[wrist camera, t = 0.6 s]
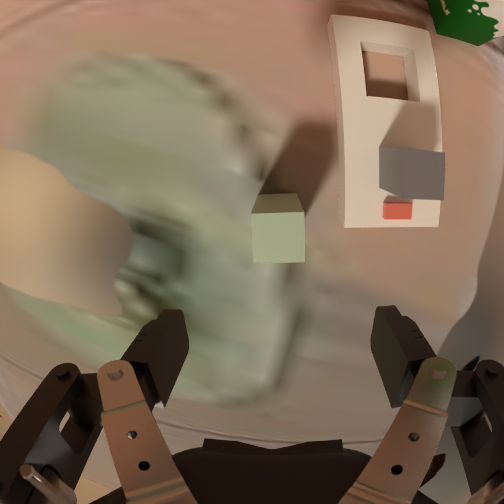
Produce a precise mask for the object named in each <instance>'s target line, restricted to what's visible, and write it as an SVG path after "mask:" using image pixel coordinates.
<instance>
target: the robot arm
mask: <svg viewBox="0 0 504 504" xmlns="http://www.w3.org/2000/svg"><path fill="white" fill-rule="evenodd" d="M188 351H189V339H188V334H187V329H186V325H185V320H184V315H183V312H182V310H175V309H164V310H163V311H162V312H161V313H160V315H159V316H158V318H157V319H156V320H152V321H150V322H149V323H147V324H146V325H144V326H143V328H142V329H141V331H140V332H139V333H138V335H137V336H136V338H135V339H134V341H133V342H132V343H131V345H130V346H129V348H128V349H127V350H126V352H125V353H124V355H123V356H122V358H121V359H120V360H114V361H110V362H108V363H106V364H104V365H103V366H102V367H101V368H100V369H99V370H98V372H97V373H90V374H81V373H80V371H79V369H78V367H77V366H76V365H75V364H73V363H63V364H60V365H58V366H56V367H54V368H53V369H52V370H51V371H50V372H49V374H48V375H47V376H46V378H45V379H44V380H43V382H42V383H41V384H40V385H39V387H38V388H37V389H36V391H35V392H34V393H33V395H32V396H31V398H30V399H29V400H28V402H27V403H26V404H25V406H24V407H23V409H22V410H21V411H20V413H19V414H18V416H17V417H16V419H15V420H14V421H13V423H12V425H11V426H10V427H9V429H8V430H7V432H6V433H5V435H4V436H3V438H2V440H1V441H0V504H77V498H76V495H75V493H74V490H75V487H76V485H77V483H78V480H79V478H80V476H81V474H82V471H83V469H84V467H85V465H86V462H87V460H88V458H89V456H90V454H91V451H92V449H93V447H94V445H95V443H96V441H97V439H98V436H99V434H100V432H101V430H102V428H103V426H104V430H105V434H106V438H107V441H108V445H109V448H110V452H111V455H112V459H113V462H114V465H115V468H116V471H117V474H118V477H119V480H120V482H121V485H122V486H121V487H120V488H118V489H116V490H114V491H112V492H111V493H109V494H107V495H105V496H103V497H101V498H99V499H97V500H95V501H93V502H91V503H89V504H438V503H436V502H435V501H433V500H432V499H430V498H429V497H427V496H426V495H424V494H423V493H421V492H420V491H419V490H418V488H419V486H420V484H421V482H422V480H423V478H424V476H425V474H426V472H427V470H428V467H429V465H430V463H431V460H432V458H433V456H434V453H435V451H436V448H437V446H438V443H439V440H440V438H441V435H442V432H443V429H444V427H445V426H450V427H451V430H452V433H453V436H454V438H455V441H456V444H457V447H458V450H459V453H460V457H461V460H462V463H463V466H464V470H465V473H466V477H467V480H468V484H469V488H470V492H471V497H470V499H469V501H468V503H467V504H504V367H503V366H502V365H501V364H500V363H498V362H496V361H494V360H482V361H480V362H479V363H478V364H477V366H476V369H475V371H458V370H457V369H456V367H455V366H454V364H453V363H451V362H450V361H449V360H447V359H444V358H441V357H437V356H436V354H435V353H434V351H433V349H432V348H431V346H430V345H429V343H428V341H427V340H426V338H425V337H424V335H423V334H422V332H421V331H420V329H419V327H418V326H417V324H416V323H415V322H414V321H413V320H411V319H410V318H409V317H407V316H402V315H401V314H400V312H399V311H398V309H397V308H396V306H395V305H391V306H378V307H377V308H376V311H375V317H374V323H373V329H372V334H371V351H372V354H373V356H374V359H375V362H376V365H377V367H378V370H379V373H380V376H381V378H382V381H383V384H384V387H385V390H386V393H387V396H388V398H389V401H390V404H391V407H392V408H395V407H401V408H400V410H399V412H398V413H397V415H396V417H395V419H394V421H393V423H392V425H391V426H390V428H389V430H388V432H387V433H386V435H385V437H384V438H383V440H382V442H381V444H380V445H379V447H378V448H377V450H376V452H375V453H374V455H373V456H372V457H371V456H369V455H367V454H365V453H362V452H359V451H356V450H351V449H345V448H343V445H342V439H339V440H328V441H312V442H305V443H301V444H297V445H292V446H288V447H283V448H278V449H267V448H262V447H258V446H254V445H250V444H246V443H242V442H239V441H228V440H216V439H207V438H205V439H204V443H203V447H198V448H193V449H188V450H185V451H182V452H179V453H176V454H174V455H172V454H171V452H170V450H169V448H168V446H167V444H166V442H165V440H164V438H163V436H162V434H161V432H160V430H159V428H158V425H157V423H156V421H155V419H154V417H153V414H152V410H153V408H154V407H160V408H165V406H166V403H167V401H168V399H169V396H170V394H171V392H172V389H173V387H174V385H175V382H176V380H177V378H178V375H179V373H180V371H181V368H182V366H183V364H184V361H185V359H186V357H187V354H188ZM67 411H68V413H69V414H70V417H69V419H68V421H67V422H66V424H65V426H64V428H63V429H62V431H61V433H60V431H59V426H60V423H61V421H62V419H63V417H64V416H65V414H66V412H67ZM485 414H487V416H488V418H489V421H490V423H491V426H492V433H491V431H490V428H489V426H488V424H487V421H486V419H485V417H484V416H485Z"/></svg>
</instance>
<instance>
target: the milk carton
mask: <svg viewBox="0 0 504 504" xmlns="http://www.w3.org/2000/svg"><path fill="white" fill-rule="evenodd" d="M427 2H428V5H429V8H430V11H431V14H432V18H433V21H434V25H435V28H436V32H437V34H440V35H444V36H448V37H451V38H454V39H458V40H461V41H464V42H467V43H470V44H473V45H476V46H480V45H482V44H484V43H486V42H488V41H490V40H492V39H495V38H498V37H501V36H504V0H427Z"/></svg>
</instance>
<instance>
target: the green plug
mask: <svg viewBox="0 0 504 504" xmlns="http://www.w3.org/2000/svg"><path fill="white" fill-rule="evenodd" d="M251 227H252V242H253V258H254V263H285V262H305V236H304V210H303V208H302V205H301V203H300V200H299V198H298V195H297V193H286V194H259V195H258V196H257V199H256V202H255V204H254V207H253V209H252V212H251Z"/></svg>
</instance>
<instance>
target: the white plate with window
mask: <svg viewBox="0 0 504 504" xmlns="http://www.w3.org/2000/svg"><path fill="white" fill-rule="evenodd" d="M327 29H328V36H329V44H330V52H331V60H332V69H333V80H334V91H335V104H336V119H337V138H338V169H339V221H340V223H341V224H342V225H343V226H344V228H358V227H438V224H439V214H440V201H441V200H443V199H444V181H445V152H442V127H441V110H440V99H439V89H438V80H437V73H436V66H435V60H434V54H433V49H432V43H431V38H430V34H429V31H428V30H424V29H420V28H416V27H412V26H407V25H403V24H398V23H393V22H388V21H382V20H376V19H369V18H362V17H354V16H345V15H333V14H331V17H330V19H329V21H328V24H327ZM362 51H370V52H378V53H385V54H391V55H397V56H403V60H404V67H405V75H406V83H407V93H408V101H407V100H399V99H391V98H382V97H372V96H366V86H365V76H364V67H363V59H362Z"/></svg>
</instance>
